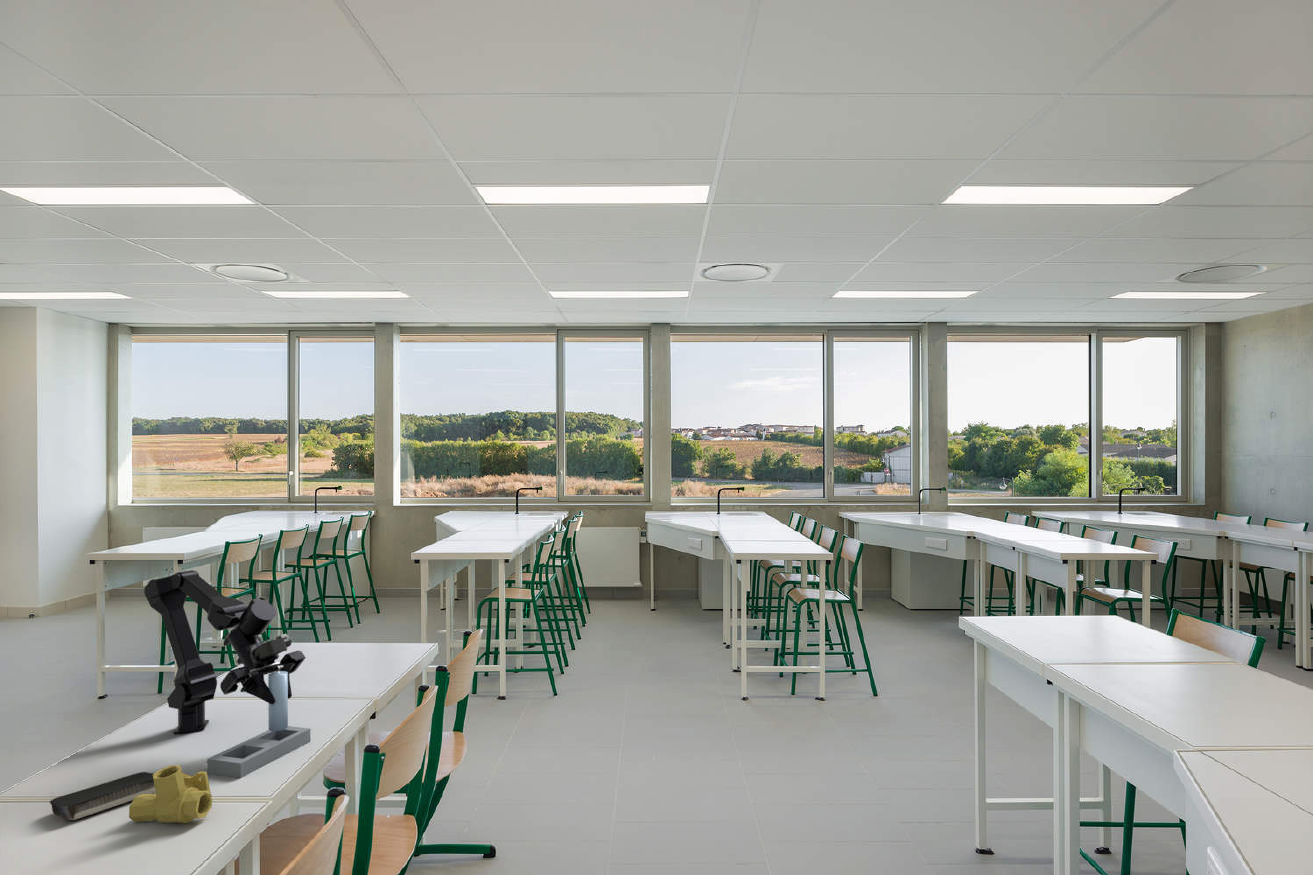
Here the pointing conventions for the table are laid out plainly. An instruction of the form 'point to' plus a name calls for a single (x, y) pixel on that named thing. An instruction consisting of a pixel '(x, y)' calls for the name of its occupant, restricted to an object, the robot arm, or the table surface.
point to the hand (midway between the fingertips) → (282, 700)
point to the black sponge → (103, 796)
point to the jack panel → (257, 751)
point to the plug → (278, 701)
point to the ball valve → (173, 798)
